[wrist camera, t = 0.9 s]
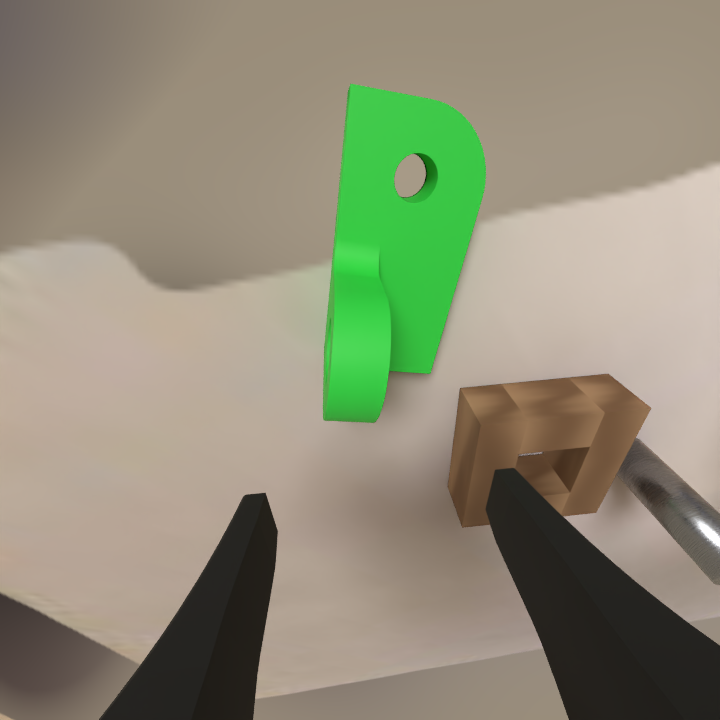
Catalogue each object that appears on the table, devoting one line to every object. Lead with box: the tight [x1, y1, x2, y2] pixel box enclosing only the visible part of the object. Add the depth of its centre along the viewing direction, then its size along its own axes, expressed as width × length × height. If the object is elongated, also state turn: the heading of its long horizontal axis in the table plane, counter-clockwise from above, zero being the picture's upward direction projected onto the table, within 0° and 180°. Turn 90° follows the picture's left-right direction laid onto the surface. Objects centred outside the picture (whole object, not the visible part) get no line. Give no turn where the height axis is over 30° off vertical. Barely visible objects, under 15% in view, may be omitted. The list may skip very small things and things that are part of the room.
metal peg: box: [617, 438, 720, 585], centre depth 23 cm, size 3×3×9 cm
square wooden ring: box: [448, 374, 651, 528], centre depth 23 cm, size 10×10×4 cm
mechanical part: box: [323, 84, 486, 423], centre depth 14 cm, size 12×6×8 cm, turn 172°
